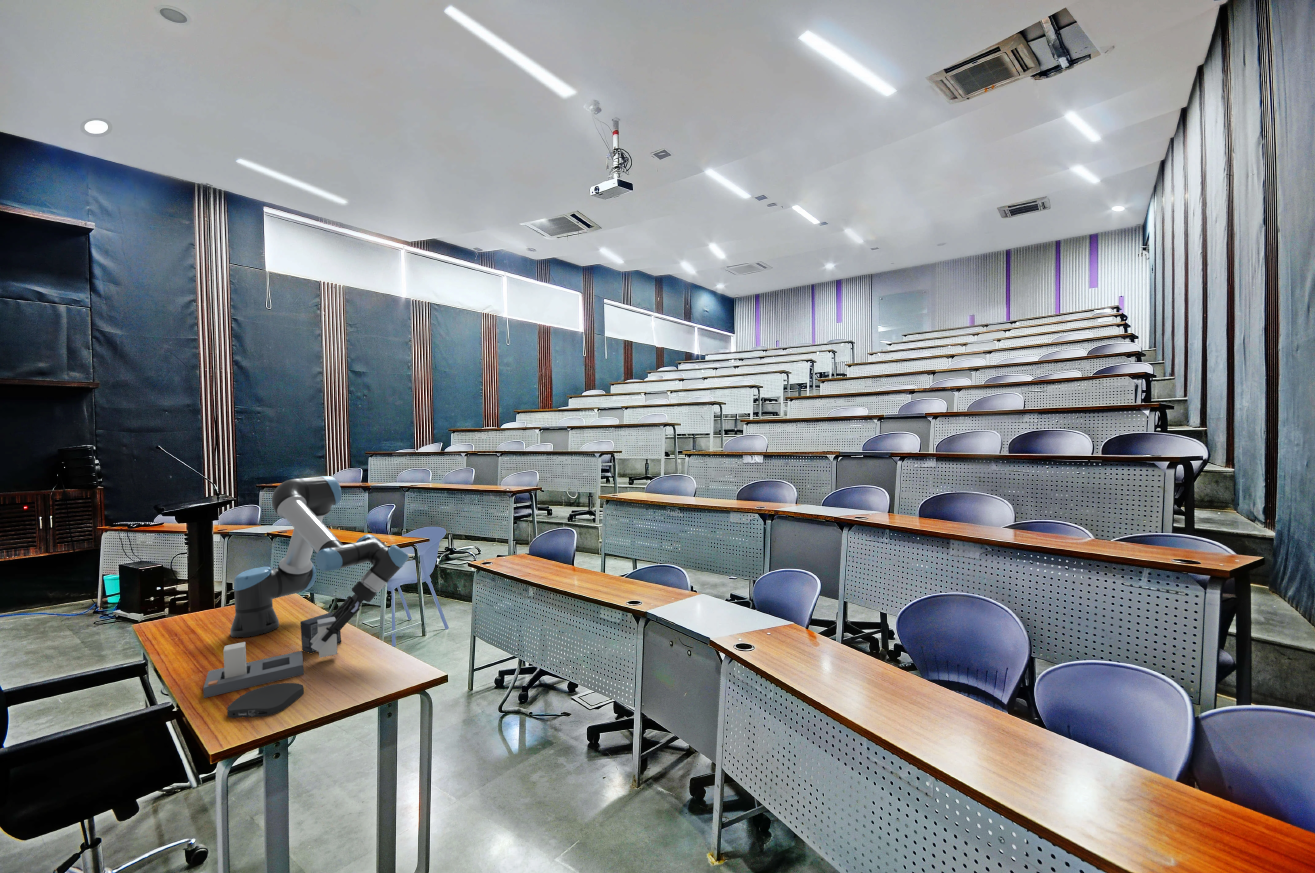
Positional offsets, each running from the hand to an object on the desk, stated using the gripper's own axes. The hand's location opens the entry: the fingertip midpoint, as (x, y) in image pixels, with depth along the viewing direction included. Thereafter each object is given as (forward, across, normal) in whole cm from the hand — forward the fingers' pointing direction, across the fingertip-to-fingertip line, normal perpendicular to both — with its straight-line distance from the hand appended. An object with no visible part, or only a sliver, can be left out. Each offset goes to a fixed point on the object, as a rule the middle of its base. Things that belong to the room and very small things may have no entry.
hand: (314, 646), depth 178 cm
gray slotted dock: (+15, -1, +7) cm, 16 cm away
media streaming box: (+13, -24, +4) cm, 28 cm away
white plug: (0, 0, -5) cm, 5 cm away
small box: (+2, +15, -6) cm, 16 cm away
